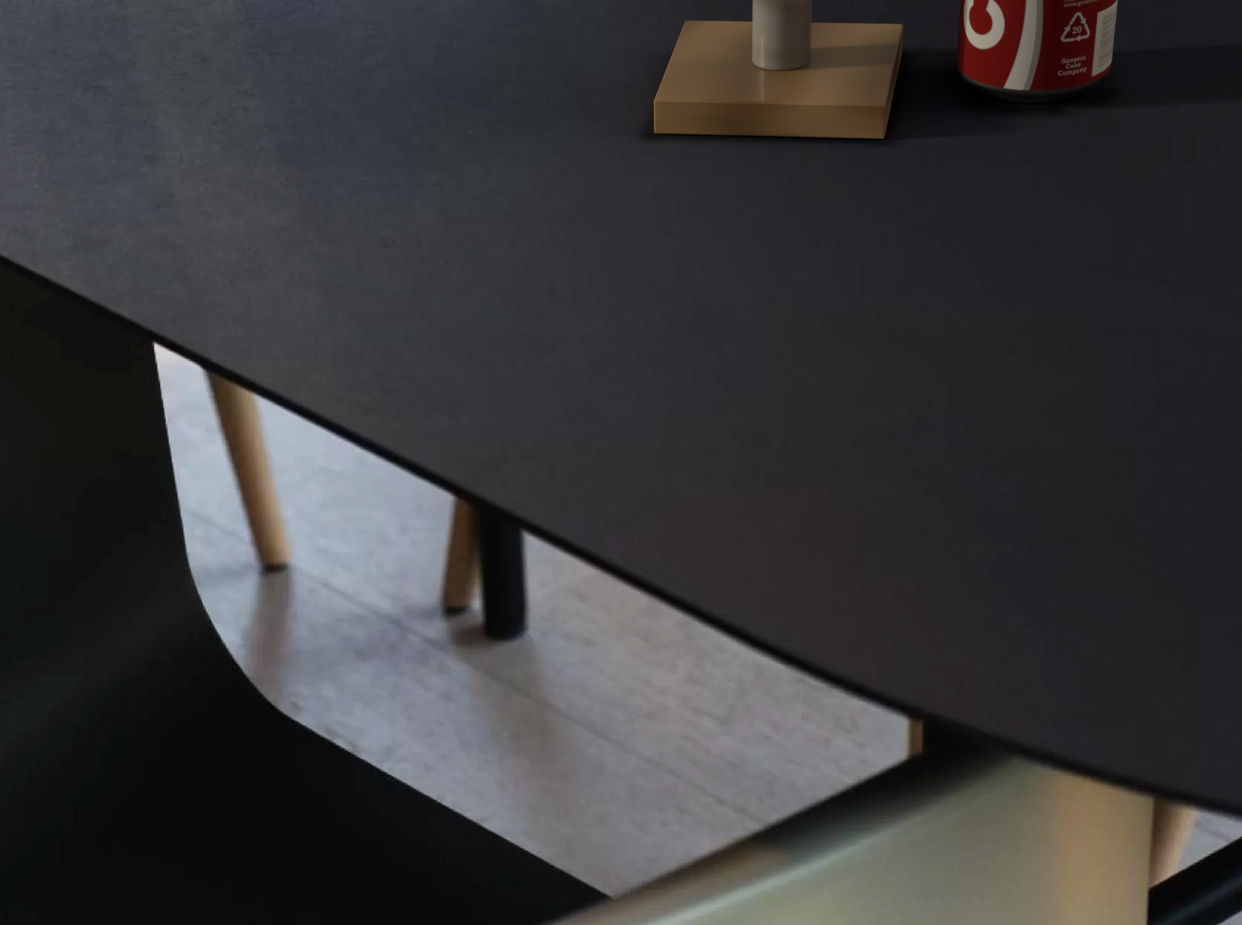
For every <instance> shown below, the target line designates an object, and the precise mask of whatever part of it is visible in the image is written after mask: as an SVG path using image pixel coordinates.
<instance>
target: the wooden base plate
mask: <svg viewBox="0 0 1242 925" xmlns="http://www.w3.org/2000/svg"><path fill="white" fill-rule="evenodd" d="M903 35H904V25H903V24H902V23H863V22H861V23H860V22H859V23H857V22H852V23H851V22H813V0H752V20H751V21H742V20H741V21H738V20H737V21H735V20H734V21H733V20H732V21H731V20H729V21H728V20H685V21H684V23H683V26H682V29H681V31H680V33H679V36H678V38H677V40H676V44H675V45H674V49H673V51H672V54H671V56H670V59H669V62H668V64H667V67H666V69H665V72H664V74H663V77H662V78H661V82H660V84H659V87H658V90H657V92H656V95H655V97H654V100H653V129H654V130H653V132H654V134H658V135H659V134H660V135H661V134H662V135H699V136H701V135H702V136H737V137H738V136H740V137H741V136H742V137H743V136H745V137H782V138H783V137H784V138H785V137H786V138H787V137H788V138H821V139H822V138H825V139H826V138H827V139H828V138H829V139H864V140H865V139H868V140H869V139H870V140H871V139H872V140H884V139H885V138H886V131H887V127H888V123H889V118H890V112H891V108H892V102H893V98H894V93H895V90H896V84H897V80H898V75H899V70H900V65H901V61H902V56H903V39H904V38H903Z"/></svg>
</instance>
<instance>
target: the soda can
mask: <svg viewBox="0 0 1242 925" xmlns="http://www.w3.org/2000/svg"><path fill="white" fill-rule="evenodd" d="M1118 2H1119V0H960V2H959V3H960V4H959V19H958V20H959V21H958V36H957V51H956V71H957V73H958V75H959V76H960V77H961V78H962V79H963V80H964V81H965V82H966V83H969V84H970V85H972V86H973V87H976V88H977V89H978V90H979V91H980V92H982V93H983V94H985V95H987V96H989V97H992V98H993V99H997V100H1002V101H1006V102H1012V103H1020V104H1046V103H1047V104H1048V103H1054V102H1061V101H1065V100H1069V99H1071V98H1074V97H1076V96H1079V95H1081V94H1083V93H1084V92H1085V91H1086V90H1088V89H1091V88H1093V87H1095V86H1097V85H1098V84H1100V83H1101V82H1103V81H1104V80H1106V78H1107V77H1108V76H1109V75H1110V72H1111V70H1112V61H1113V54H1114V53H1113V52H1114V51H1113V50H1114V41H1115V32H1116V22H1117V12H1118Z"/></svg>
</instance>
